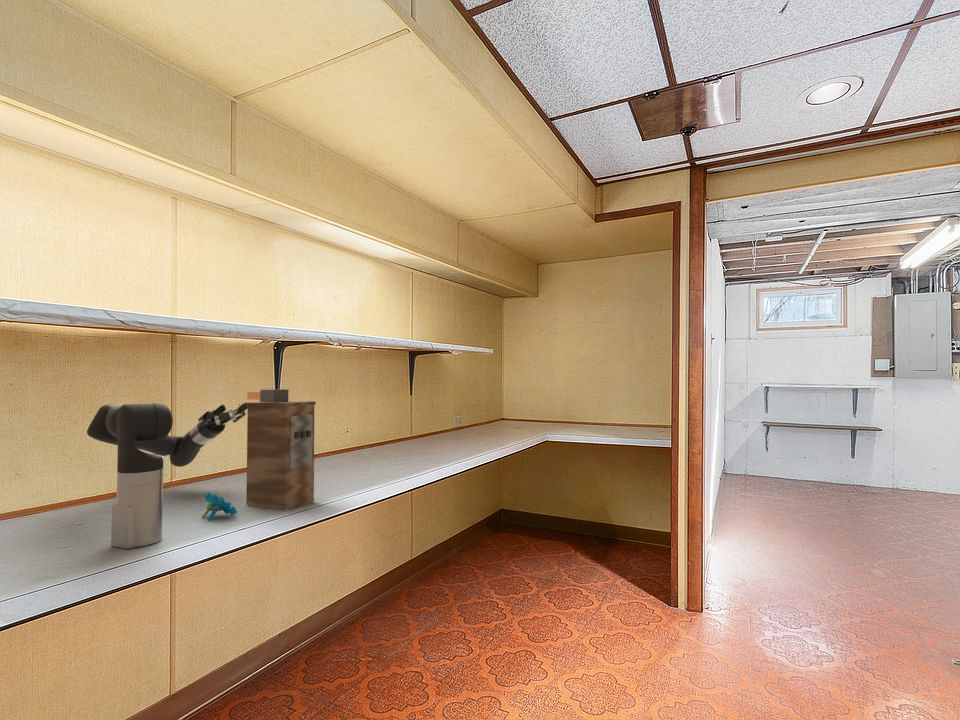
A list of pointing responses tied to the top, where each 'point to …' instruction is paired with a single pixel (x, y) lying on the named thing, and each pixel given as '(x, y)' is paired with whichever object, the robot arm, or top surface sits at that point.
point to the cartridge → (269, 395)
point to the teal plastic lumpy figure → (217, 505)
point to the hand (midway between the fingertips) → (235, 406)
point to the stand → (280, 454)
